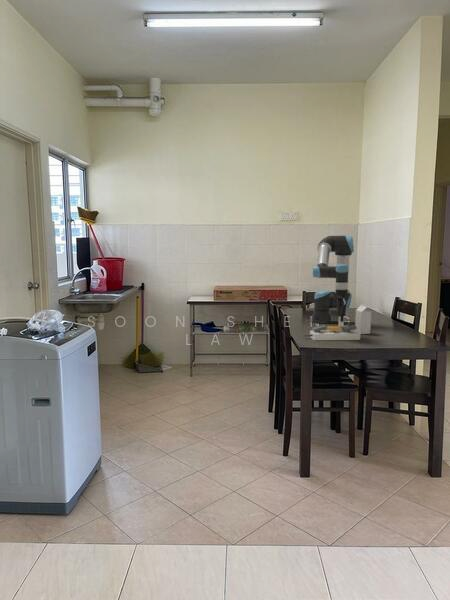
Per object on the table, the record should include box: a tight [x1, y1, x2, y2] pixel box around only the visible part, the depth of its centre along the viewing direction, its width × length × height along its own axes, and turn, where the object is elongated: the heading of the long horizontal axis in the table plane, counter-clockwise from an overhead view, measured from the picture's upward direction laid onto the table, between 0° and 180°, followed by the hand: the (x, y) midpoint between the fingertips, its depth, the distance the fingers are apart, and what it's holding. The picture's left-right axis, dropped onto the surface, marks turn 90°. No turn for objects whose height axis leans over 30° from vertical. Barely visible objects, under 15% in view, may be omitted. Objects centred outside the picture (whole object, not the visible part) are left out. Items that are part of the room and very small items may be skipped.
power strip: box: [303, 329, 361, 341], centre depth 272 cm, size 10×34×5 cm, turn 94°
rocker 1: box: [311, 324, 327, 332], centre depth 273 cm, size 5×8×2 cm, turn 94°
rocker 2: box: [342, 324, 357, 332], centre depth 274 cm, size 5×8×2 cm, turn 94°
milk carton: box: [354, 303, 372, 335], centre depth 287 cm, size 7×7×19 cm
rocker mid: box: [326, 325, 342, 331], centre depth 273 cm, size 5×8×2 cm, turn 94°
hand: (341, 326), depth 273 cm, fingers closed
